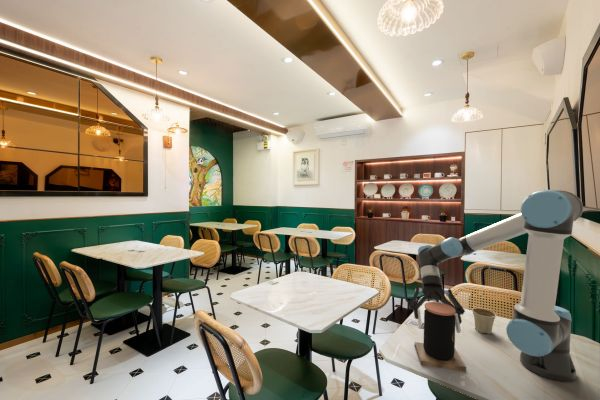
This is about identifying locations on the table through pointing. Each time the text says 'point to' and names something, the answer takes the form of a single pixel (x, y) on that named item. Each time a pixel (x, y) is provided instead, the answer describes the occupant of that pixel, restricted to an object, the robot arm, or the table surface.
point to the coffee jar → (439, 330)
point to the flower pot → (483, 320)
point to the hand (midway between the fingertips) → (439, 329)
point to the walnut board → (425, 359)
